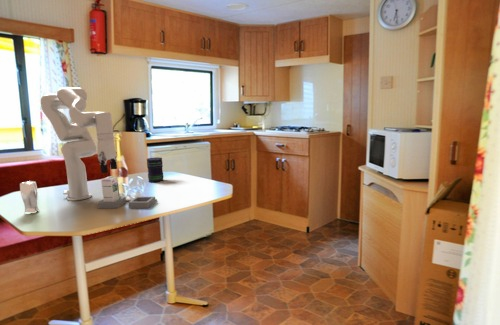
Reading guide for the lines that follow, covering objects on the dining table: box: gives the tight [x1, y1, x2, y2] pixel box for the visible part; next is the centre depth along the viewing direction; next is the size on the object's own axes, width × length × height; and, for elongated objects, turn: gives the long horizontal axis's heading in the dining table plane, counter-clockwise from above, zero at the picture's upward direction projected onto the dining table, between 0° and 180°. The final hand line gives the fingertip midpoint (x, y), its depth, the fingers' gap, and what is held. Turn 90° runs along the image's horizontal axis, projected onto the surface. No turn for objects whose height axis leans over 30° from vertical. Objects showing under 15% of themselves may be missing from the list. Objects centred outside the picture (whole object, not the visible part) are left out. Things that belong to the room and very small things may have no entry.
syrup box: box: [100, 175, 121, 202], centre depth 180 cm, size 6×6×14 cm
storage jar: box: [146, 157, 164, 184], centre depth 232 cm, size 10×10×15 cm
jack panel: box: [97, 196, 158, 209], centre depth 182 cm, size 26×12×3 cm, turn 85°
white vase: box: [19, 180, 40, 213], centre depth 172 cm, size 7×7×15 cm
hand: (109, 170), depth 178 cm, fingers open, 9 cm apart
